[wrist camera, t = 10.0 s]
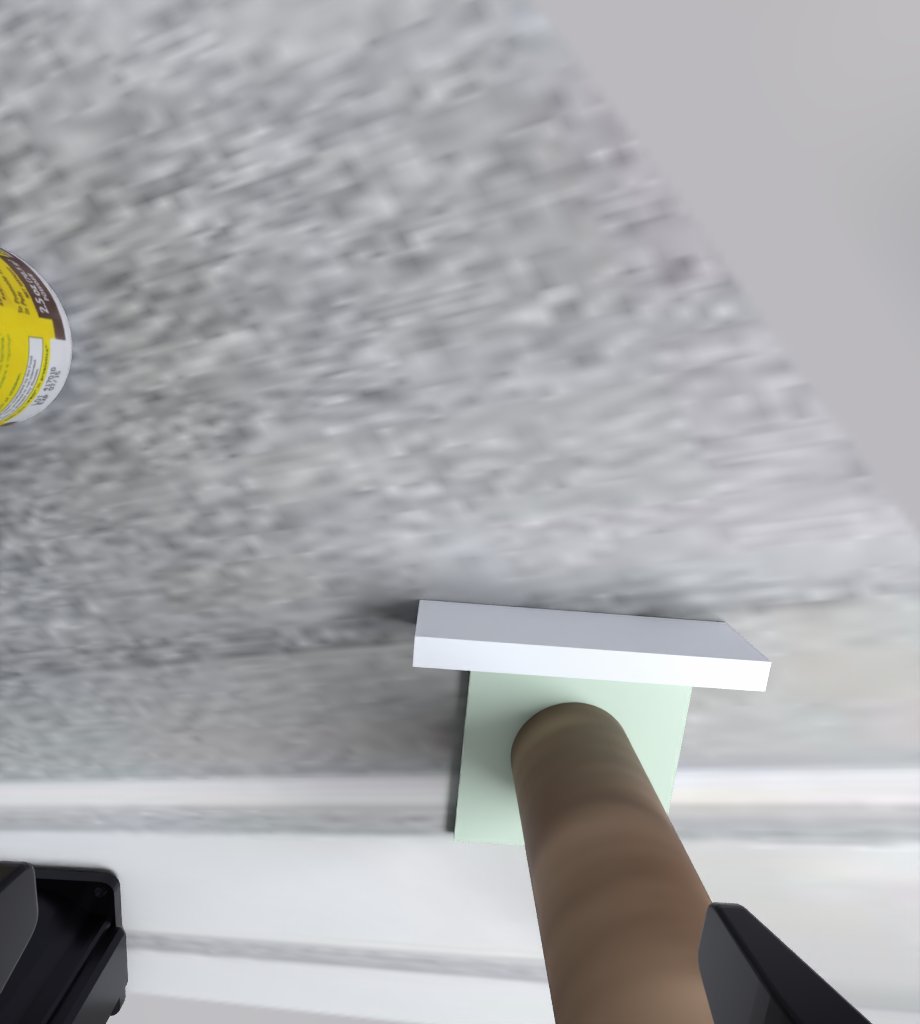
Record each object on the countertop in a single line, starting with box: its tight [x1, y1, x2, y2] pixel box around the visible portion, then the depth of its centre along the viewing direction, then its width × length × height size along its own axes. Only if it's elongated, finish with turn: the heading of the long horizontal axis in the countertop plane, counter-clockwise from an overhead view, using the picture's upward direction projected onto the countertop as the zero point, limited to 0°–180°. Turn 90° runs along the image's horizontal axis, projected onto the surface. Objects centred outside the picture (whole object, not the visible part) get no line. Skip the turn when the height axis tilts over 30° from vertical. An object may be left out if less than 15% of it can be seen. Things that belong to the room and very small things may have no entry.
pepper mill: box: [511, 702, 714, 1024], centre depth 15 cm, size 4×4×13 cm
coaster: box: [454, 671, 692, 846], centre depth 22 cm, size 8×8×1 cm
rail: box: [413, 600, 771, 691], centre depth 20 cm, size 11×1×3 cm, turn 85°
